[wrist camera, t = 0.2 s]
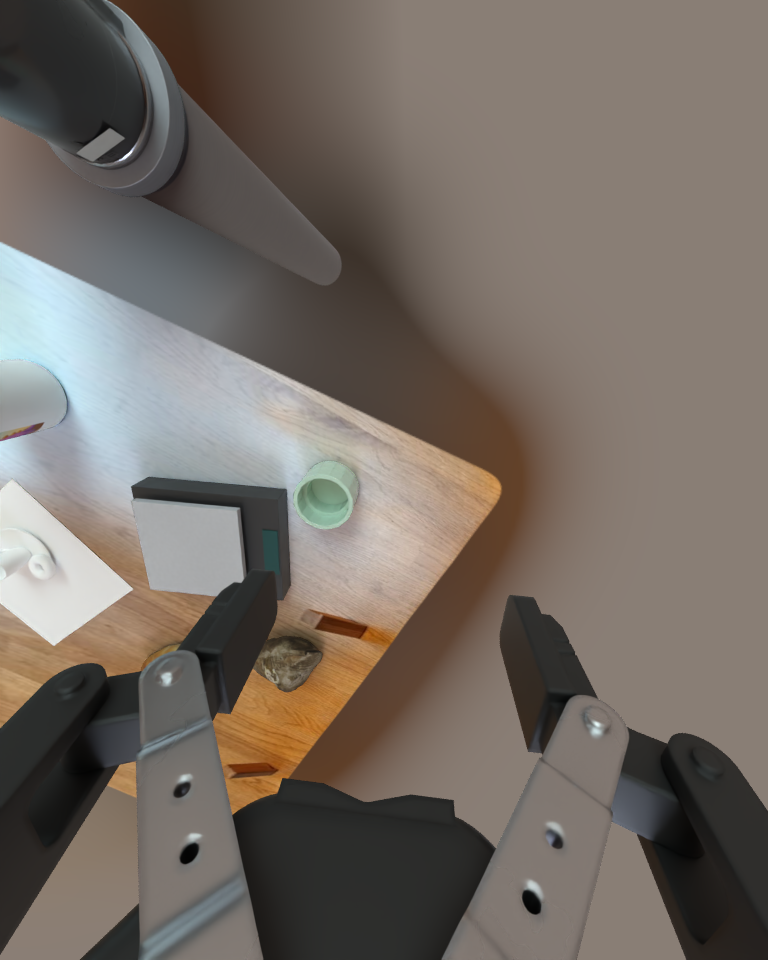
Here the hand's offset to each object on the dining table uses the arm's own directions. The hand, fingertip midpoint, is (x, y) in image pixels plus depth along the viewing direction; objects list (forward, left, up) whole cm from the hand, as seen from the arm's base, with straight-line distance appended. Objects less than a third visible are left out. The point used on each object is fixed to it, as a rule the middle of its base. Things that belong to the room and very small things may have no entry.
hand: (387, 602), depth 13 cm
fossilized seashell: (+34, -14, -29) cm, 47 cm away
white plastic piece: (+25, -50, -29) cm, 63 cm away
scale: (+16, -22, -29) cm, 40 cm away
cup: (+8, -8, -29) cm, 31 cm away
